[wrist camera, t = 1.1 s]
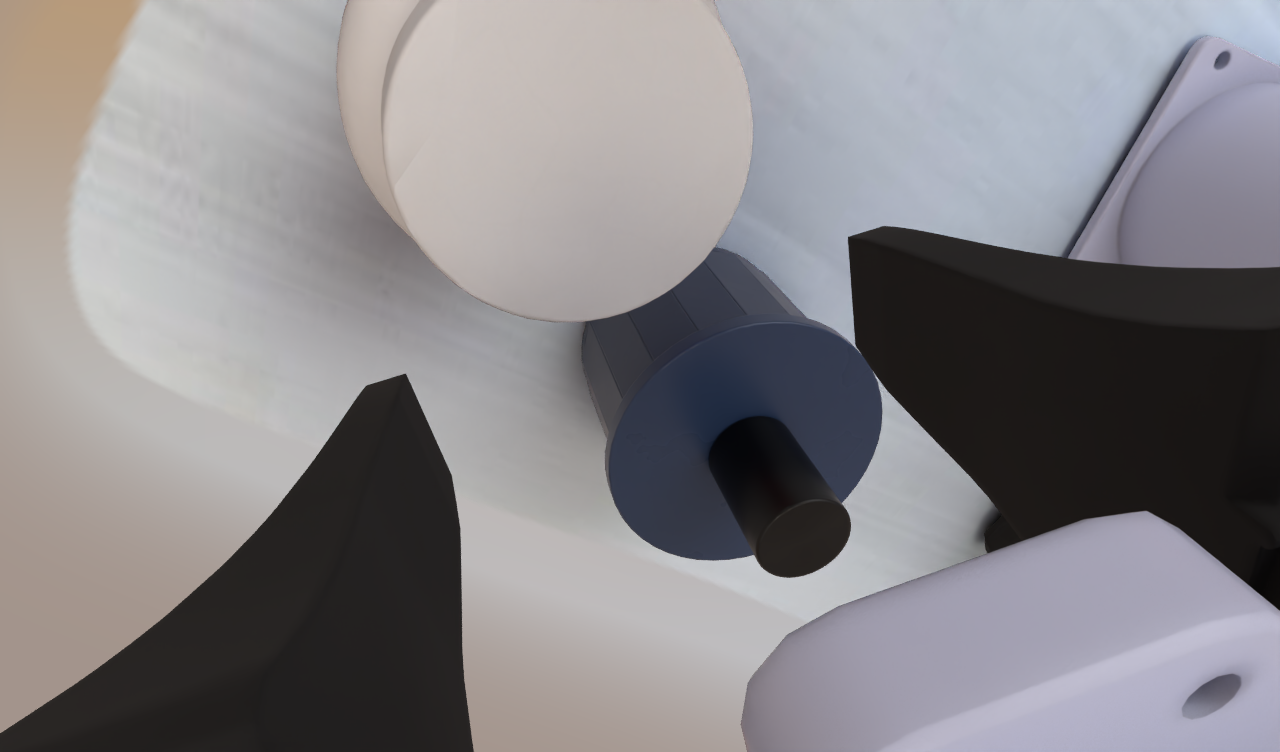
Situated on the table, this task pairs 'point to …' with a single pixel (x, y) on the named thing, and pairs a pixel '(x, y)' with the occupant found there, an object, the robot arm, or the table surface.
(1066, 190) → the table surface
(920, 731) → the robot arm
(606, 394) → the tin
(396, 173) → the pill bottle
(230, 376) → the table surface
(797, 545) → the lid
